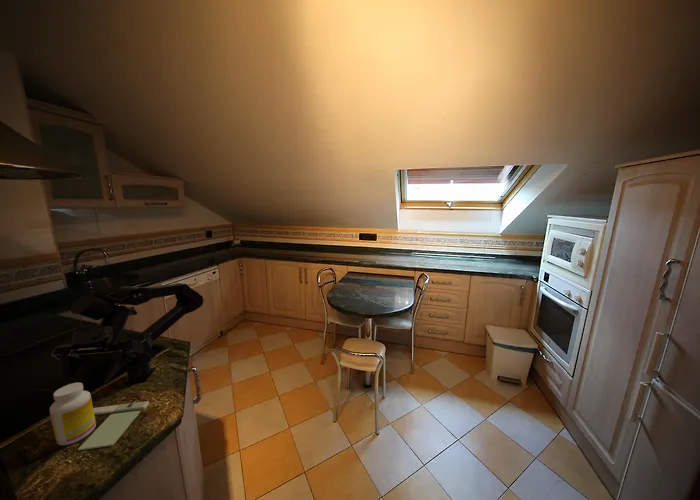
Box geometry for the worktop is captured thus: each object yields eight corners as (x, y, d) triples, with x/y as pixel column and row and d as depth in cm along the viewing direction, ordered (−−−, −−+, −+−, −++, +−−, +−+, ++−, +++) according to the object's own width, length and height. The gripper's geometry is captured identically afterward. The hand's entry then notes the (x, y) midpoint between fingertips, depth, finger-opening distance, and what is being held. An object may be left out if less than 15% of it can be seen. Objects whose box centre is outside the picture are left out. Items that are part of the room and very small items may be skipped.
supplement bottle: (103, 422, 64) (96, 379, 62) (76, 446, 57) (67, 399, 55) (78, 423, 63) (69, 379, 61) (47, 447, 57) (37, 399, 55)
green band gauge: (84, 410, 67) (83, 407, 67) (149, 403, 70) (148, 399, 70) (33, 457, 54) (32, 452, 54) (115, 445, 57) (114, 441, 57)
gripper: (51, 317, 64) (10, 384, 55) (131, 313, 67) (105, 375, 58) (83, 330, 72) (52, 389, 64) (152, 326, 76) (132, 381, 67)
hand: (85, 384), depth 63 cm, fingers open, 9 cm apart
